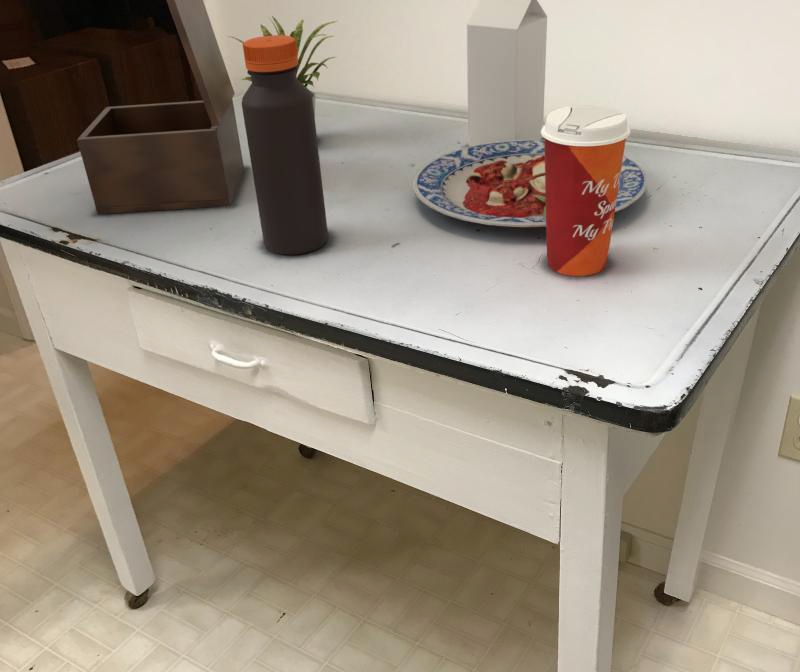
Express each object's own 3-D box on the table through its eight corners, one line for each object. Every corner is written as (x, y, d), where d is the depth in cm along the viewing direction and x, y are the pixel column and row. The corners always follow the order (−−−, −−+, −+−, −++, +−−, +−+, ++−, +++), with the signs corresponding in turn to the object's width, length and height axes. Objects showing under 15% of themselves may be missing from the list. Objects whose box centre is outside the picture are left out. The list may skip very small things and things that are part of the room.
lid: (153, -35, 85) (202, -48, 84) (178, -52, 95) (221, -64, 95) (212, 127, 94) (256, 116, 94) (228, 95, 105) (268, 85, 104)
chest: (97, 214, 100) (76, 139, 95) (123, 176, 110) (106, 106, 105) (230, 205, 99) (216, 130, 94) (244, 168, 110) (232, 98, 105)
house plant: (376, 134, 118) (367, 6, 108) (314, 166, 109) (298, 29, 99) (296, 122, 125) (281, 0, 115) (231, 151, 115) (209, 22, 106)
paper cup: (596, 288, 78) (609, 135, 70) (521, 270, 81) (525, 123, 73) (631, 255, 83) (646, 108, 75) (558, 239, 87) (566, 98, 79)
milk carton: (515, 155, 108) (518, -9, 97) (467, 147, 111) (465, -13, 100) (543, 139, 112) (549, -20, 101) (496, 131, 116) (497, -23, 105)
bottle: (258, 257, 87) (224, 51, 76) (270, 229, 93) (240, 34, 82) (324, 255, 87) (299, 47, 75) (332, 228, 92) (310, 31, 81)
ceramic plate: (405, 166, 107) (403, 142, 105) (609, 149, 107) (610, 125, 106) (424, 254, 86) (423, 226, 84) (678, 232, 86) (682, 204, 85)
